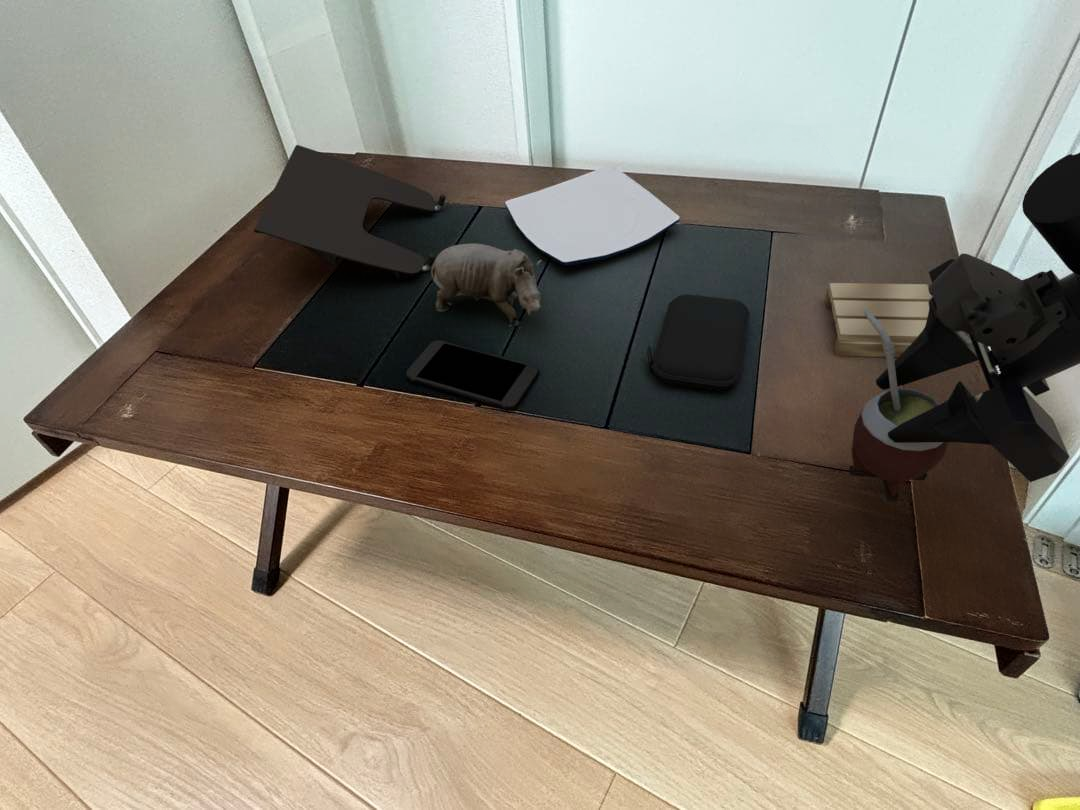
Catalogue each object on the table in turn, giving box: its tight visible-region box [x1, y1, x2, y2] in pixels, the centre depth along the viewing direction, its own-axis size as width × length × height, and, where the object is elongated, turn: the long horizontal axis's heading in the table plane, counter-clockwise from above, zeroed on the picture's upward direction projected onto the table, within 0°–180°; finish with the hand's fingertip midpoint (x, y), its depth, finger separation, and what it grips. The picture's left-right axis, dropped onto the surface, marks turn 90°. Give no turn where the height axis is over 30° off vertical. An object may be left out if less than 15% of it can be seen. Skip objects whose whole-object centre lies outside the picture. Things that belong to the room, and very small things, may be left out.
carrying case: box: [646, 293, 750, 391], centre depth 83 cm, size 11×3×15 cm
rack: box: [823, 282, 933, 358], centre depth 83 cm, size 11×10×3 cm
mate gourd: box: [848, 308, 949, 503], centre depth 58 cm, size 8×8×15 cm
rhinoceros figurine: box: [430, 242, 543, 328], centre depth 90 cm, size 8×14×15 cm
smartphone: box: [405, 339, 540, 410], centre depth 84 cm, size 7×15×1 cm, turn 64°
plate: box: [504, 164, 681, 267], centre depth 103 cm, size 20×20×3 cm
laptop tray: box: [253, 144, 447, 279], centre depth 104 cm, size 23×23×9 cm
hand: (884, 410), depth 58 cm, fingers closed on mate gourd, 5 cm apart
